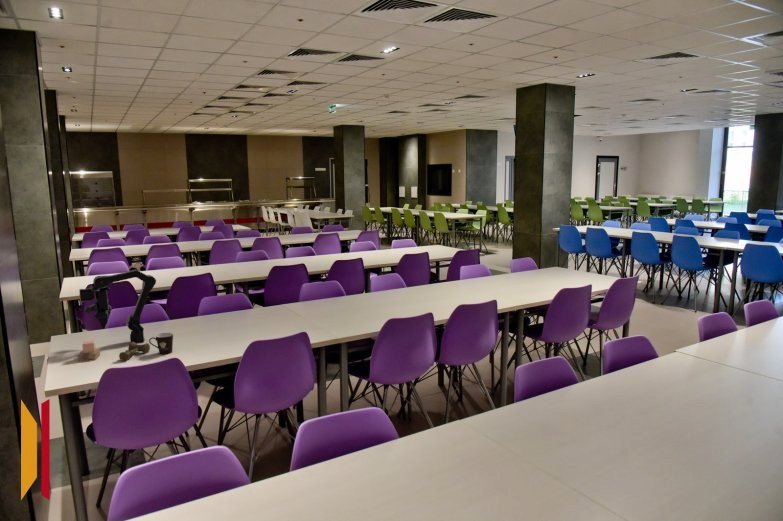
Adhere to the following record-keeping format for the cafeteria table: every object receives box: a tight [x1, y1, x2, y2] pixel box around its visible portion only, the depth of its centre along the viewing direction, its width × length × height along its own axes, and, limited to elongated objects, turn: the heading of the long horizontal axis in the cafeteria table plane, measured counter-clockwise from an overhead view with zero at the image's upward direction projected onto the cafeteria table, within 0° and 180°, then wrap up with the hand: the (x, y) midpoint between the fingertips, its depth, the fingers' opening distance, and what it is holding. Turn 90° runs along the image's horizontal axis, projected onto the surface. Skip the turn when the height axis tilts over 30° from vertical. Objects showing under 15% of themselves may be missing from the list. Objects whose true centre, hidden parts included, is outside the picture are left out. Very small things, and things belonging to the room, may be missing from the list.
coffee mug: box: [148, 332, 174, 356], centre depth 283 cm, size 12×9×10 cm
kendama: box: [118, 341, 151, 362], centre depth 279 cm, size 6×10×20 cm
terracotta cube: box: [81, 339, 97, 353], centre depth 274 cm, size 5×5×5 cm
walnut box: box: [77, 348, 101, 362], centre depth 275 cm, size 8×8×4 cm
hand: (104, 326), depth 292 cm, fingers open, 9 cm apart
